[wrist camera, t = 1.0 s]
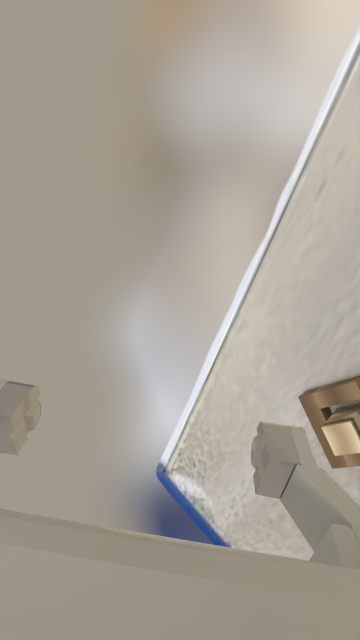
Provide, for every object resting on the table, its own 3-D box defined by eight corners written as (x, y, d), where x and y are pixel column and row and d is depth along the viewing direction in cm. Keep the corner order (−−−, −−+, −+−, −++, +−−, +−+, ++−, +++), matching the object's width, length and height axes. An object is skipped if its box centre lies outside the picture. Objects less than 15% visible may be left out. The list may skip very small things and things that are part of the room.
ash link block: (363, 401, 46) (350, 421, 41) (377, 428, 46) (365, 452, 40) (337, 407, 49) (320, 427, 43) (349, 433, 48) (334, 456, 42)
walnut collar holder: (377, 371, 45) (373, 376, 42) (419, 449, 43) (417, 459, 40) (305, 391, 52) (298, 397, 50) (337, 459, 50) (332, 468, 48)
